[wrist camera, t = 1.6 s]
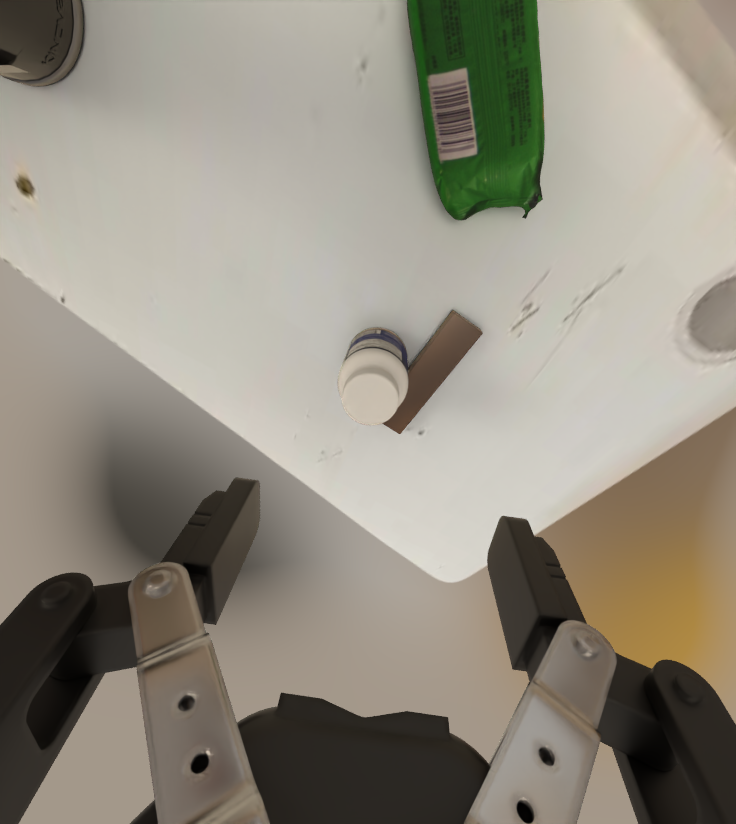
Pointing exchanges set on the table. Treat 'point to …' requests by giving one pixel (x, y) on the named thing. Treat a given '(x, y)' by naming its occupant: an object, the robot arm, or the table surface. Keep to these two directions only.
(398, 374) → the pill bottle
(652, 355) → the table surface
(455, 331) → the bar
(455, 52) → the snack package
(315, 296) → the table surface
